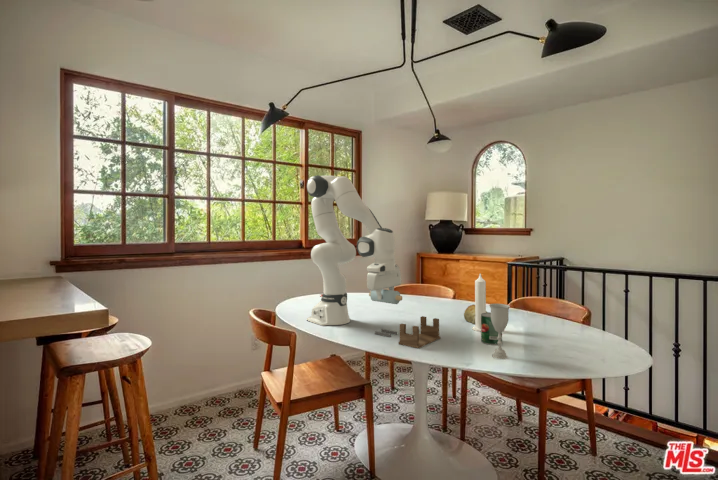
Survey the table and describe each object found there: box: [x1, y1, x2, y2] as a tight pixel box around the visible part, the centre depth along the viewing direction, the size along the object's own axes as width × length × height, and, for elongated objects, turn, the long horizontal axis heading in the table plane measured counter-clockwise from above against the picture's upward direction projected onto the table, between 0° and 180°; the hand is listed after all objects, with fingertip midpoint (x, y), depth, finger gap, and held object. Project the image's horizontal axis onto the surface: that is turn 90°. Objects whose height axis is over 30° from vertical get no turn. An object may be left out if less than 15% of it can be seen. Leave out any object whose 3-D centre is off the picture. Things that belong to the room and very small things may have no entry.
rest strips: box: [374, 328, 398, 338], centre depth 170 cm, size 8×5×1 cm, turn 49°
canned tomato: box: [480, 311, 503, 346], centre depth 156 cm, size 8×8×11 cm
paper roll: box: [368, 288, 403, 305], centre depth 170 cm, size 16×6×6 cm, turn 50°
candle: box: [472, 273, 487, 333], centre depth 174 cm, size 7×7×25 cm
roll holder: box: [398, 315, 441, 349], centre depth 159 cm, size 17×9×8 cm, turn 139°
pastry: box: [463, 304, 488, 325], centre depth 190 cm, size 14×12×8 cm
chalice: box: [488, 303, 511, 360], centre depth 139 cm, size 7×7×18 cm
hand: (385, 298), depth 170 cm, fingers closed on paper roll, 5 cm apart
